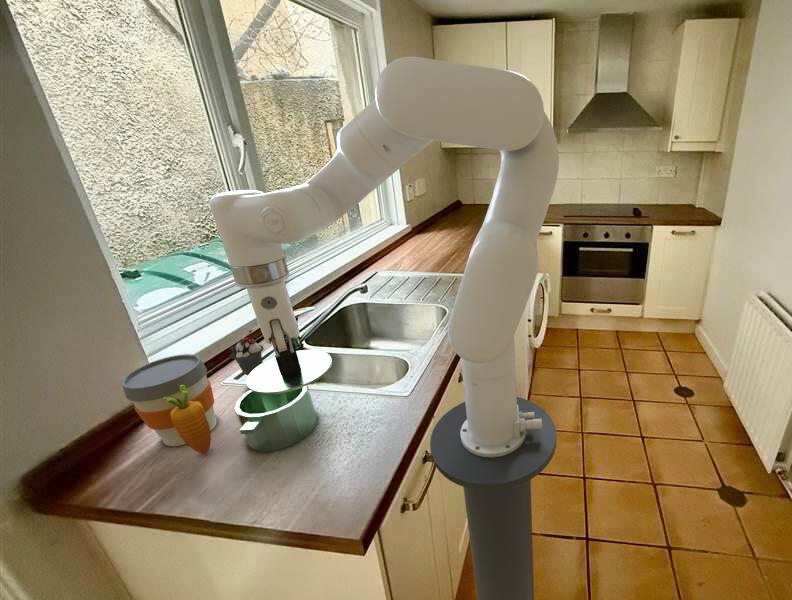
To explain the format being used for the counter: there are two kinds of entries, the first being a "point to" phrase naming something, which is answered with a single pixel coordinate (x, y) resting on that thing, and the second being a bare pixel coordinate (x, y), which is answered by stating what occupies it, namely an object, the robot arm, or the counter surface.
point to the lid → (272, 382)
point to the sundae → (247, 354)
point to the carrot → (190, 422)
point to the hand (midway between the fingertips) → (290, 368)
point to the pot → (275, 418)
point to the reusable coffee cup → (168, 392)
